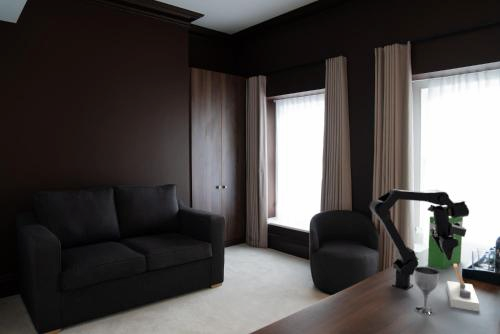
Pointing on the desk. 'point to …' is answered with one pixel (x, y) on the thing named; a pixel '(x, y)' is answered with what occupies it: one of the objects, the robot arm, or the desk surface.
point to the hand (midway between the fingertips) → (446, 256)
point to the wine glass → (426, 286)
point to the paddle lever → (459, 276)
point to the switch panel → (461, 301)
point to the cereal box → (434, 253)
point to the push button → (465, 293)
